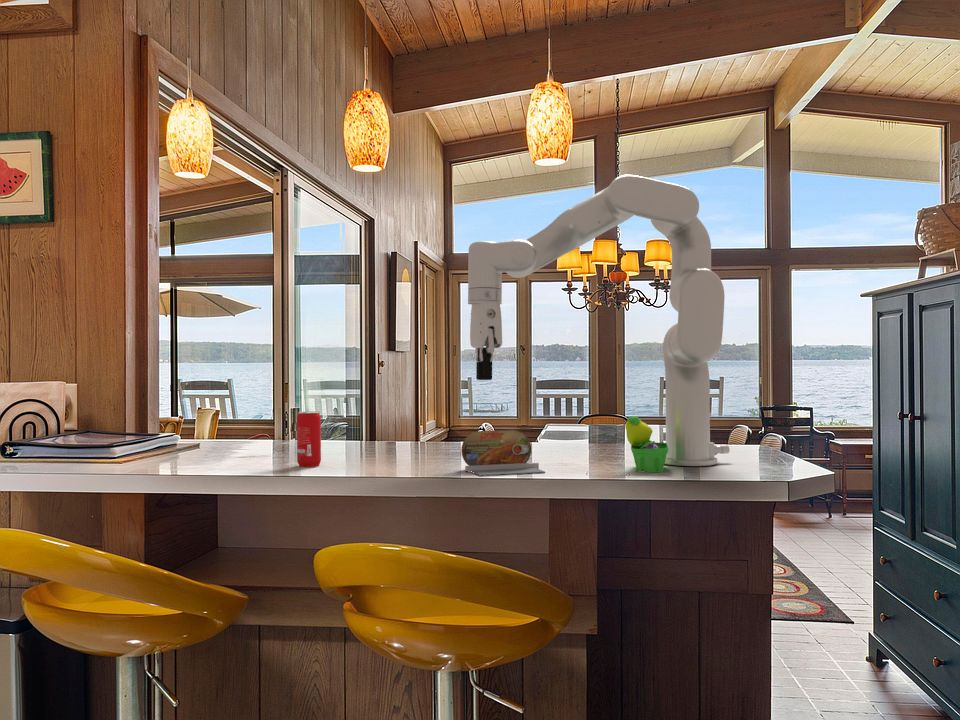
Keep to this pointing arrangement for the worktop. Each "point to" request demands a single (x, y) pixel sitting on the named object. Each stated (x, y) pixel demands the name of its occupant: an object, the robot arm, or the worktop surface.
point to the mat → (505, 469)
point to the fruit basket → (645, 446)
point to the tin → (496, 448)
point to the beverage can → (308, 439)
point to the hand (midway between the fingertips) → (484, 379)
